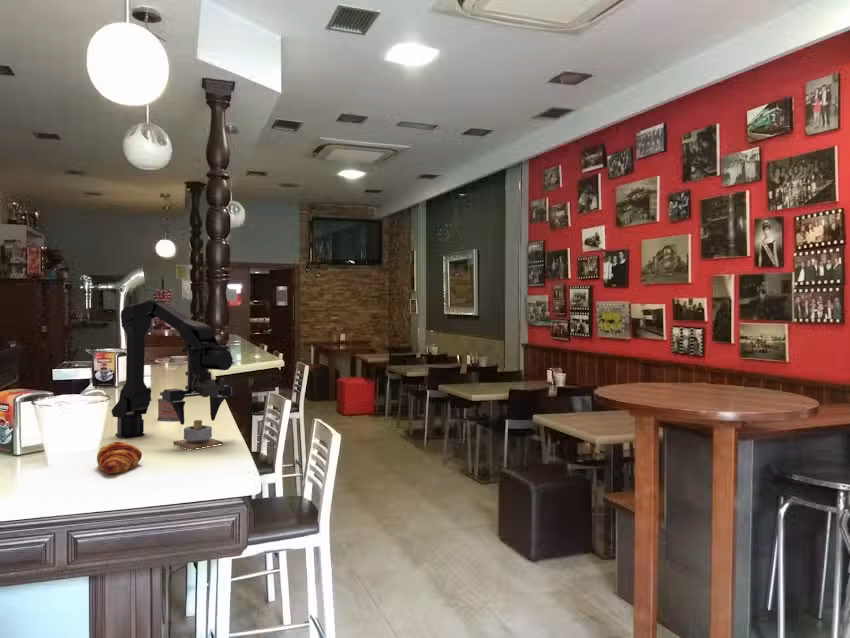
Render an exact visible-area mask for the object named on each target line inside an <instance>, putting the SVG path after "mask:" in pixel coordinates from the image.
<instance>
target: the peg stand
mask: <svg viewBox="0 0 850 638" xmlns="http://www.w3.org/2000/svg"><path fill="white" fill-rule="evenodd" d="M202 425H203V420H202V419H196V420H194V421H193V426H194V429H202ZM172 442H173V443H172V444H174V445H173V446H175V445H177V446H176V447H178V446H180V447H179V448H181V447H183V448H182V449H184V448H186V449H189V450H190V449H196V448H202V447H207V446H213V445H218V444H223V441H222V440H218V439H216V438H215V439H214V438H212V437H211V438H210V439H207V440H200V441H188V440H185V439H180V440H174V441H172ZM223 445H224V444H223ZM186 449H185V450H186ZM202 449H203V448H202ZM189 450H188V451H189ZM196 450H197V449H196ZM190 451H191V450H190Z"/></svg>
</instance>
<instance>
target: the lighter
mask: <svg viewBox="0 0 850 638" xmlns="http://www.w3.org/2000/svg"><path fill="white" fill-rule="evenodd" d="M162 393H163V391H160V392H159V396H160V397H161V398H157V422H159V421H160V422H180V421H179V419H178V416H177V414H176V412H175V410H174V408H173V406H172V405H171V403H169V402H167V400H163V399H162Z"/></svg>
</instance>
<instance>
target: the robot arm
mask: <svg viewBox="0 0 850 638" xmlns="http://www.w3.org/2000/svg"><path fill="white" fill-rule="evenodd" d="M156 318H158V319H159V320H161V321H163V322H164V323H165V324H167V325H168V326H169V327H172V329H174V330H175V331H177V332H178V333H179V337H180V338H181V339H182V341H183V342H185V343H186V346H185V347H183V349H182V350H181V352H182V353H187V371H185V376H186V377H187V385H185V390H184V389H181V388H169V389H167V388H166V389H164V390H163V391H162V392H163V393H162V396H161V398H162V399H163V400H167V402H169V403H171V405H172V406H173V408H174V410H175V412H176V414H177V416H178V419H179V421H178V422H179V423H180V425H181V426H183V425H185V404H186V401H185V400H184V399H185V398H189V397H202V398H208V397H209V408H210V409H209V411H210V413H209V415H210V420H211V421H212V422H214V421H216V420H215V419H216V417H217V414H218V412H219V408H220V407H221V405H222V403H223V402H224V401H225V400H226V399H228V398H229V396H233V388H232V387H231V386H230V385H227V384H225V378H223V377H218V378H217V377H216V378H215V379H213V378H212V373H211V372H212V371H209V370H215V371H216V370H217V371H228V370H229V369H231V367H232V366H233V355H232V353H231V352H230V350H229V349H228V345H220V343H219V342H218V340H217V338H216V337H215V335H214V333H213V330H212V327H211V326H210V325H208V324H205V323H203V322H201V321H197V320H192V319H190V318H188V317H187V316H185V315H184V314H182V313H181V312H179V311H178V310H176V309H174V308H173V307H172V306H170V305H169V304H167V303H166V301H165V300H162V299H149V300H147V301H144V302H141V303H138V304H135V305H127V306H124V308H123V309H122V310H121V312H120V320H121V321H120V322H121V327H122V329H123V330H124V332H125V334H126V366H125V367H126V369H125V371H126V372H125V373H126V375H125V383H124V385H123V386H122V388H121V389H120V392H119V397H118V401H117V403H115V405H113V407H112V409H111V414H112V417H113V418H116V419H117V421H116V423H117V424H116V425H117V426H116V427H117V430H116V431H117V432H116V433H114V436H116V437H119V438H122V439H125V438H126V439H127V438H134V437H142V436H145V433H144V430H145V429H144V426H145V424H144V423H145V421H144V419H143V415H146V414H147V412H148V409H149V406H150V404H151V401H152V396H151V395H152V388H151V387H148V386H147V385H146V383H145V347H146V344H145V343H146V335H147V333H148V332H149V329H150V328H151V326H152V320H154V319H156Z"/></svg>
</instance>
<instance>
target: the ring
mask: <svg viewBox="0 0 850 638" xmlns="http://www.w3.org/2000/svg"><path fill="white" fill-rule="evenodd" d="M212 432H213V427H212V426H210V425H203V424H202V429H194V425H190V426H186V427H184V428H183V440H188V441H200V440H207V439H210V438H212V434H213V433H212Z"/></svg>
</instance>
